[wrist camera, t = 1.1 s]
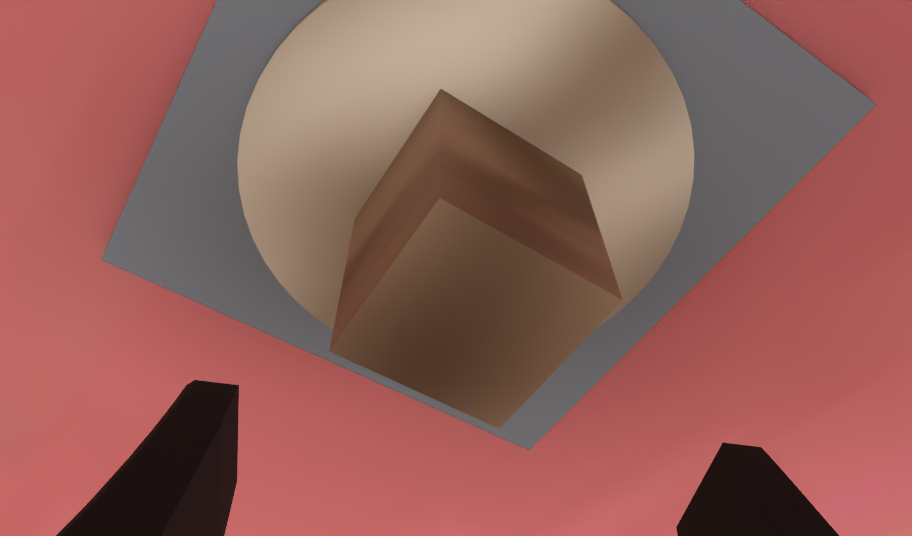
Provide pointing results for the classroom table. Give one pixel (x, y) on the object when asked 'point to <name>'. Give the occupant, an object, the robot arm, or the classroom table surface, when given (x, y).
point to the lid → (465, 184)
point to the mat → (691, 257)
